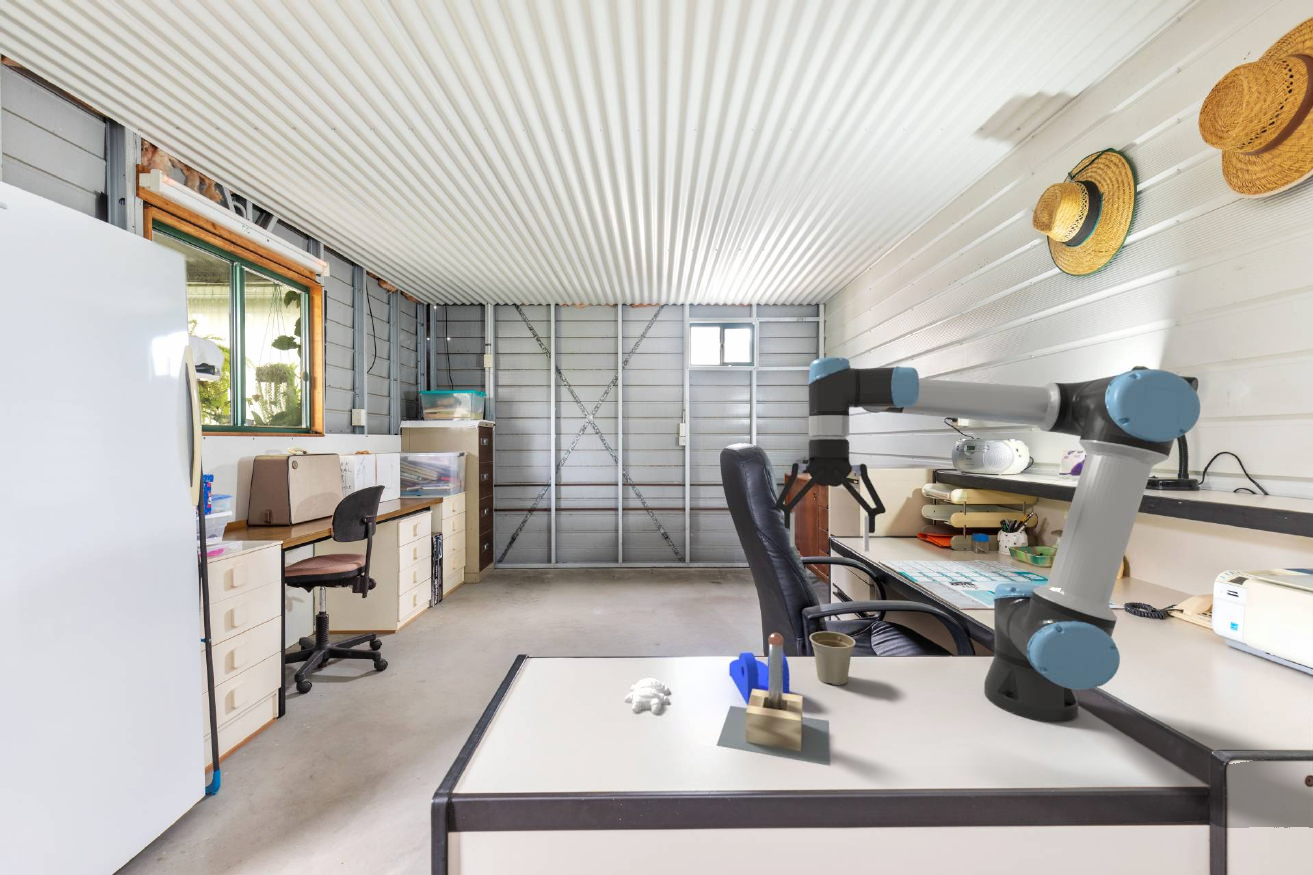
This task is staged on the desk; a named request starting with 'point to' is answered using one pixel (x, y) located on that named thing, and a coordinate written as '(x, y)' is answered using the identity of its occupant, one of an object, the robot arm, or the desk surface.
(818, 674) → the flower pot
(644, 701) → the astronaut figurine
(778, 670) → the copper-tipped rod
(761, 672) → the bracket
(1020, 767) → the desk surface
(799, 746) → the block with square hole
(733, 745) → the mat
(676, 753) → the desk surface
